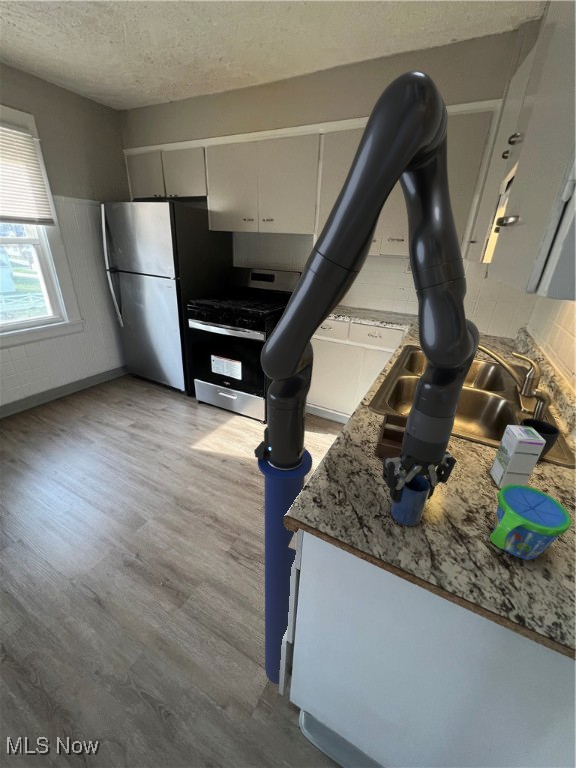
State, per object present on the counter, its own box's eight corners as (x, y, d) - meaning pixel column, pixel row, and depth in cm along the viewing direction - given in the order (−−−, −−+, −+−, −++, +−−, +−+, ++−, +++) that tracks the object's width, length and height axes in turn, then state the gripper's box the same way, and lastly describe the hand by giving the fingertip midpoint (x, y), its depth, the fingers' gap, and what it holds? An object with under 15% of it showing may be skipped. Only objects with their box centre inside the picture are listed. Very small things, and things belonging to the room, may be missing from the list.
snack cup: (510, 582, 53) (532, 541, 49) (461, 531, 62) (476, 493, 58) (571, 556, 58) (596, 516, 54) (517, 512, 67) (535, 476, 63)
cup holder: (375, 456, 83) (377, 443, 82) (382, 423, 98) (385, 412, 96) (411, 465, 80) (414, 452, 79) (413, 430, 95) (416, 418, 93)
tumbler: (389, 520, 64) (397, 487, 61) (392, 499, 70) (399, 468, 66) (420, 530, 63) (430, 496, 59) (420, 508, 68) (430, 476, 64)
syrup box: (524, 492, 73) (548, 441, 67) (497, 488, 74) (518, 437, 67) (512, 475, 78) (534, 426, 72) (487, 472, 79) (506, 423, 72)
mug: (489, 443, 90) (500, 415, 86) (534, 448, 89) (547, 419, 85) (503, 462, 83) (515, 432, 79) (552, 467, 81) (567, 437, 77)
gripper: (451, 416, 61) (432, 482, 68) (382, 420, 59) (369, 487, 66) (477, 439, 55) (453, 509, 62) (400, 444, 52) (384, 516, 60)
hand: (409, 497), depth 64 cm, fingers closed on tumbler, 6 cm apart
